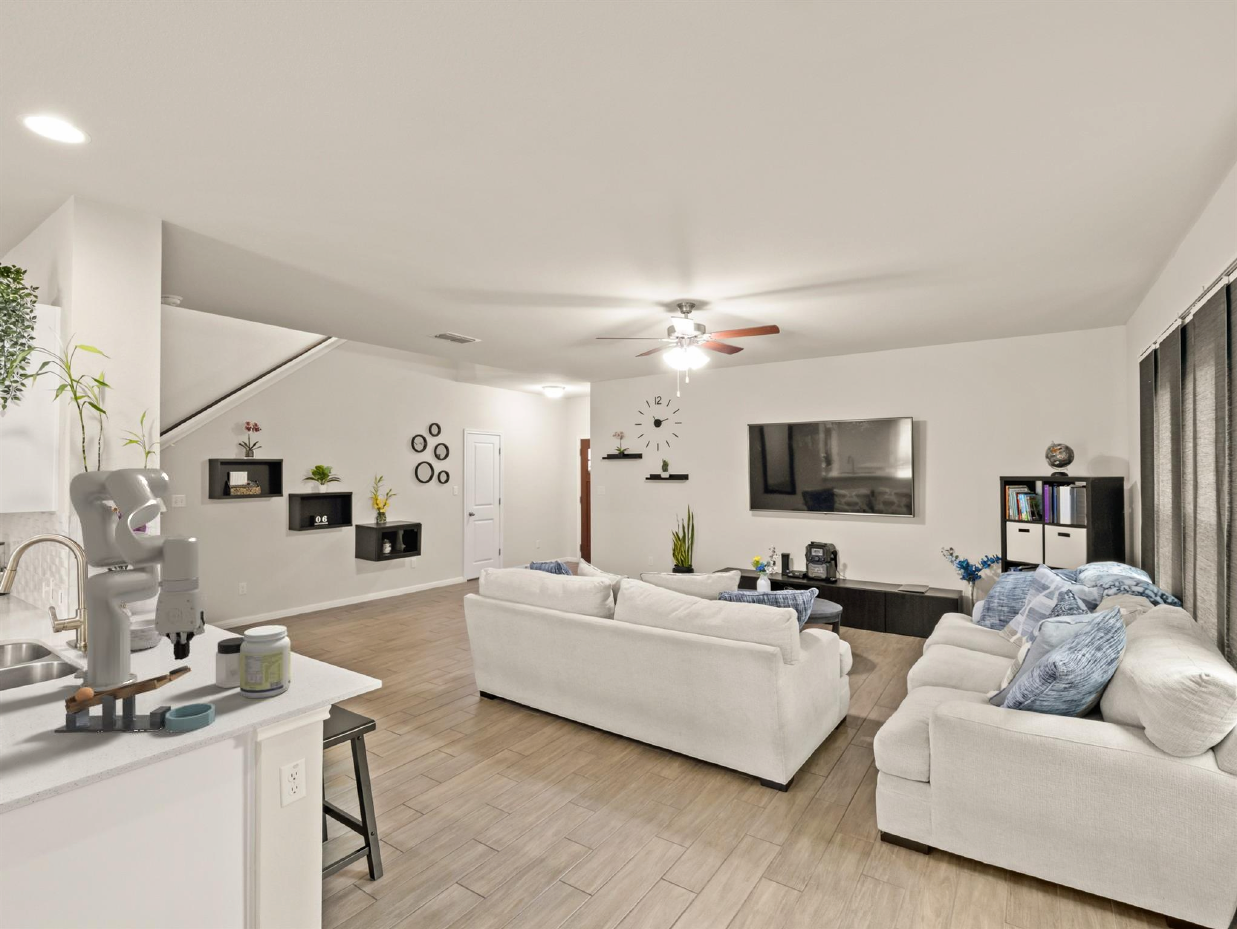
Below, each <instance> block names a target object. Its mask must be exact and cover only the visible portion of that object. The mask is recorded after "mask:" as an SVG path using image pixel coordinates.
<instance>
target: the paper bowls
mask: <svg viewBox="0 0 1237 929" xmlns="http://www.w3.org/2000/svg"><path fill="white" fill-rule="evenodd" d="M163 638H164V636H160V635H158V632H157V631H156V630H155V618H147V619H139V620H138V619H137V620H132V621H131V620H130V651H139V650H140V649H141V650H145V649H146V648H147V649H150V647H151V648H153V647H156V646H158V645H159V644H160V643H161V641H162V639H163ZM147 649H146V650H147ZM141 650H140V651H141Z"/></svg>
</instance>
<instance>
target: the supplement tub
mask: <svg viewBox="0 0 1237 929" xmlns="http://www.w3.org/2000/svg"><path fill="white" fill-rule="evenodd" d="M287 635H288V631H287V627H286V626H285V625H277V624H275V625H270V624H269V625H262V626H256V627H252V628H249V629H247V630H245V631H244V632H243V636H242V637H243V639H244V640H245V641H244V642H243V643H242V644H241V647H240V686H239V687H240V688H239V693H240V694H241V696H242V697H245V698H248V699H266V698H270V697H271V698H272V697H275V696H277V695H281V694H282V693H284V692H286V691H288V689H290V687H291V682H292V681H291V645H292V643H291V640H290V638H289V637H288V636H287Z"/></svg>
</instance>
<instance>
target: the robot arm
mask: <svg viewBox="0 0 1237 929" xmlns="http://www.w3.org/2000/svg"><path fill="white" fill-rule="evenodd" d="M69 484H70V485H69V497H70V498H69V499H70V502H71V504H72V506H73V508H74V511H75V512H76V514H77V517H78V520H79V522H80V529H81V535H82V536H81V537H82V544H83V551H84V556H85V560H86V563H87V564H88V566H90V568H91V567H92V568H95V569H96V568H97V569H100V568H101V569H102V568H112V567H121V566H131V567H132V568H129V569H119V570H113V571H105V572H104V571H103V572H99V573H96V574H93V575H92V576H89V577H88V578H87V579H86V580H85V581H84V582H83V584H82V595H83V600H84V605H85V611H86V626H87V627H86V628H87V629H86V632H87V633H86V634H87V635H86V636H87V638H86V639H87V642H86V643H87V646H86V647H87V649H86V650H87V653H86V654H87V655H86V656H87V657H86V659H87V663H86V664H87V666H86V667H87V669H78V670H76V672H75V674H74V675H73V678H74V680H75V679H76V680H77V679H78V680H79V679H82V682H81V683H80V685H79V689H81V688H84V687H89V688H91V689H92V690H93V691H94V693H99V692H103V691H107V690H111V689H114V688H118V687H122V686H125V685H129V684H133V683H136V682H138V675H137V674H136V673H134V672H133V673H131V669H132V668H131V663H132V662H131V659H132V658H131V657H132V656H131V650H130V622H131V618H130V616H129V614H128V613H126V612H125V610H123V608H121V605H124V604H129V603H136V602H142V601H147V600H151V599H154V598H155V597H156V596H157V595H158V597H157V600H156V606H155V616H154V617H155V618H154V619H155V630H156V631H157V632H158V635H160V636H164V637H165V638H167V639H169V641H170V643H171V644H172V645H173V656H174V660H175V661H182V660H184V659H186V658H189V656H190V653H191V652H190V651H191V648H190V647H191V646H190V645H191V644H190V643H191V642H190V641H192V640H193V638H195V637H197V636H199V635H202V634H204V633H205V631H206V630H205V628H204V627H205V625H206V620H207V619H206V607H205V601H204V596H203V591H202V589H200V587H199V584H200V582H199V580H200V579H199V575H200V574H199V573H200V572H199V569H200V568H199V540H198V538H197V537H195V536H191V535H190V536H189V535H185V534H181V533H172V534H171V533H169V534H155V535H150V534H149V533H147V532H144V531H137V530H136V529H138V528H140V527H143V526H144V525H147V524H148V523H151V522H152V521H154V520H155V519H156V518H157V517H158V516H159V514H160V513H161V505H160V503H159V501H158V500H157V499H160V498H164V497H166V496H167V495H168V494H169V492H170V489H171V481H170V478H169V476H168V475H167V473H166V472H165V471H164V470H162V469H160V468H152V467H151V468H150V467H149V468H147V467H146V468H143V467H142V468H141V467H140V468H133V467H132V468H120V469H116V470H91V471H83V472H81V473H78V474H76V475H75V476H73V478H72V479H71V481H70V483H69ZM104 501H106V502H107V501H109V502H110V501H113V503H114V505H115V507H116V509H117V510H118V512H119V513H120V515H121V517H120V518H119V516H118V514H117V512H116V511H115V510H114V509H113V508H112V507H111V506H109V505H108V504H106V503H105V502H104ZM134 530H135V531H134ZM159 565H162V580H161V581H160V574H159V567H158V566H159ZM160 588H161V589H162V591H160ZM164 637H163V638H164Z"/></svg>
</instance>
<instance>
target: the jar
mask: <svg viewBox="0 0 1237 929" xmlns="http://www.w3.org/2000/svg"><path fill="white" fill-rule="evenodd" d="M243 637H244V636H235V637H230V638H225V639H221V640H219V641H218V642H217V651H216V652H215V686H216V687H220V688H223V689H231V688H236V687H240V647H241V644H242V643H243V642H244V641H245V640H244V639H243Z"/></svg>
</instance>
